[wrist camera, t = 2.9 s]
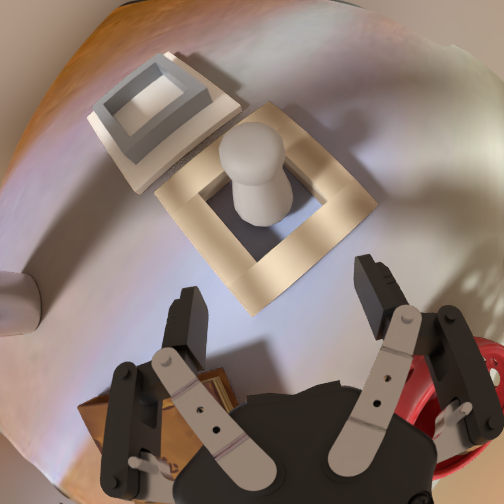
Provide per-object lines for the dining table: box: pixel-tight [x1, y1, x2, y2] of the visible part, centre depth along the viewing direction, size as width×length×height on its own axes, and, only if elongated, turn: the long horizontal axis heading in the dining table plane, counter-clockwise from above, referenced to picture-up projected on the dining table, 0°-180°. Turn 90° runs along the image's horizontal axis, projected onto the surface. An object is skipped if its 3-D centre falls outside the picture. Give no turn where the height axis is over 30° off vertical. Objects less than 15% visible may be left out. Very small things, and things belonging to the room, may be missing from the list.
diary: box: [77, 367, 239, 504], centre depth 23 cm, size 23×19×6 cm
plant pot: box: [394, 336, 504, 480], centre depth 19 cm, size 13×13×12 cm
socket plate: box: [87, 52, 242, 195], centre depth 30 cm, size 16×18×4 cm
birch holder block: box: [154, 101, 379, 317], centre depth 27 cm, size 16×16×3 cm
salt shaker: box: [219, 122, 293, 226], centre depth 22 cm, size 6×6×13 cm
